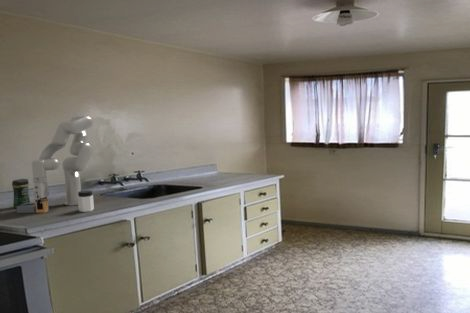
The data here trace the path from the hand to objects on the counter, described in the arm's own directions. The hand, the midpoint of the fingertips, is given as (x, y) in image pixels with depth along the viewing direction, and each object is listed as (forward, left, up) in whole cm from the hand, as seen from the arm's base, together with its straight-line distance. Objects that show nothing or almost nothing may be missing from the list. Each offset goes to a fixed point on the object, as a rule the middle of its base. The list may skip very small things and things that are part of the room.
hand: (42, 208), depth 245 cm
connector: (0, 0, -2) cm, 2 cm away
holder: (+9, -4, -2) cm, 10 cm away
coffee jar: (+20, -14, -2) cm, 25 cm away
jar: (-28, -1, -2) cm, 28 cm away
